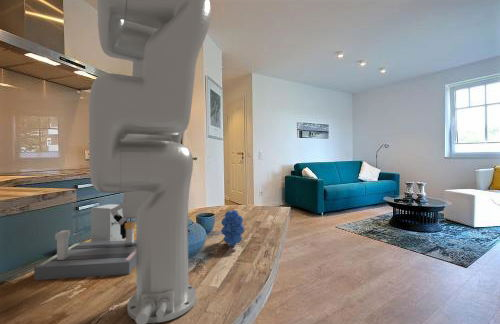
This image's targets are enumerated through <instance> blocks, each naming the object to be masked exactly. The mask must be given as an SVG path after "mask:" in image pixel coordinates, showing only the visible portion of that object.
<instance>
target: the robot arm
mask: <svg viewBox="0 0 500 324" xmlns="http://www.w3.org/2000/svg"><path fill="white" fill-rule="evenodd" d="M96 3H97V27H98V39H99V44H100V46H101V49H102V51H103V53H104V54H105V55H106V56H108V57H110V58H115V59H119V60H125V61H129V62H130V61H131V62H132V73H131V75H132V76H131V75H126V74H121V73H120V74H119V73H103V74H100V75H98V76H97V77H96V78H94V80H93V82H92V85H91V87H90V92H89V101H88V133H89V135H88V139H89V140H88V141H89V143H88V146H89V147H88V151H89V153H88V154H89V159H88V160H89V161H88V162H89V177H90V182H91V185H92V186H93V188H94V189H95V190H96V191H97V192H100V193H104V194H121V193H123V196H122V203H120V204H118V206H117V207H115V208H113V209H111V210H110V212H111V214H112V215H113V217H114V219H115V220H116V221H117V222H118V223H119V225H120V234H121V235H122V239H124V238H125V239H126V229H125V223H126V222H128V221H129V219H136V220H135V226H136V235H135V236H136V239H135V240H136V258H137V265H136V292H135V293H134V294H133V295H132V296H131V297H130V298H129V300H128V302H127V307H126V309H127V311H126V312H127V314H128V316H129V317H130V319H132V320H134V321H135V323H136V324H158V323H164V322H168V321H171V320H174V319H176V318H179V317H181V316H183V315H184V314H185V313H187V312H188V311H190V310H191V309H192V308H193V307H194V306H195V304H196V301H197V291H196V288H195V287H194V286H193V285H192V284H190V283H189V203H190V202H189V199H190V189H191V188H190V187H191V181H192V176H193V175H192V173H193V169H194V168H193V167H194V160H193V159H194V157H193V154H192V152H191V150H190V149H189V147H188V146H186V145H184V144H182V137H183V133H185V132H186V130H187V129H188V127H189V123H190V118H191V112H192V104H193V95H194V85H195V77H196V66H197V63H198V62H197V60H198V57H199V54H200V51H201V48H202V46H203V44H204V41H205V39H206V37H207V34H208V31H209V27H210V24H211V15H212V10H211V2H210V0H96ZM123 137H124V138H123ZM122 138H123V139H122ZM120 209H122V213H123V217H122V216H121V215H119V214H118V210H120Z"/></svg>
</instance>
